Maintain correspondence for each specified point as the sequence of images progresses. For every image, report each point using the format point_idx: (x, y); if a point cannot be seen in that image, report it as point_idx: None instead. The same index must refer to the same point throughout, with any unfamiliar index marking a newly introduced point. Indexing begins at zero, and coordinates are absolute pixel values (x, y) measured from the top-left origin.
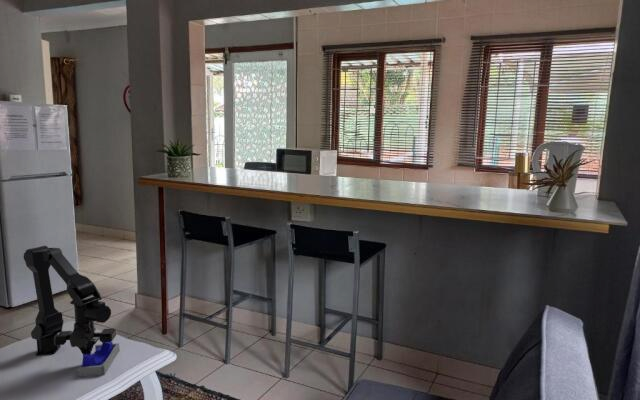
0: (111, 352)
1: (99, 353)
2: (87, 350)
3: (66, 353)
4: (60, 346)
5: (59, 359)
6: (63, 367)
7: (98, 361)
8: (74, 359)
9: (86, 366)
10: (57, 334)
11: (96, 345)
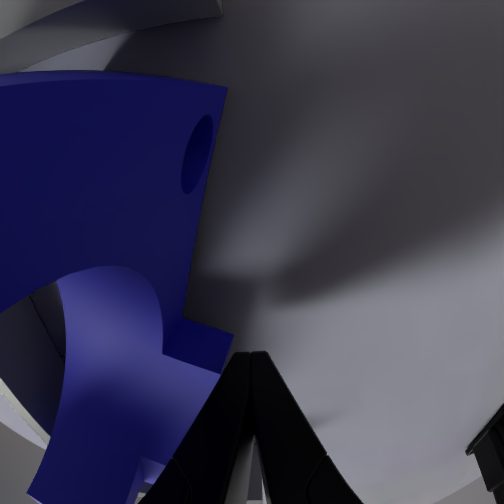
0: (20, 407)
1: (133, 428)
2: (204, 492)
3: (449, 423)
4: (467, 450)
5: (492, 370)
6: (482, 262)
7: (80, 308)
8: (404, 383)
9: (43, 12)
10: (498, 501)
11: (252, 500)
